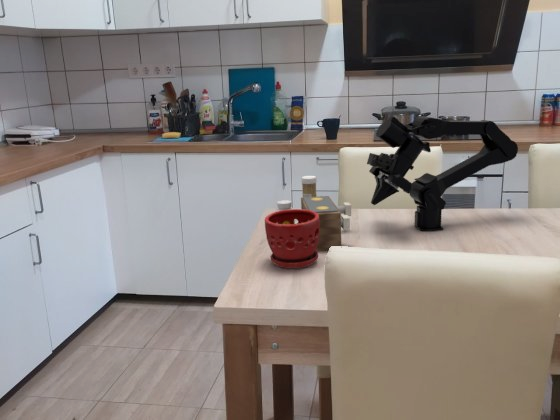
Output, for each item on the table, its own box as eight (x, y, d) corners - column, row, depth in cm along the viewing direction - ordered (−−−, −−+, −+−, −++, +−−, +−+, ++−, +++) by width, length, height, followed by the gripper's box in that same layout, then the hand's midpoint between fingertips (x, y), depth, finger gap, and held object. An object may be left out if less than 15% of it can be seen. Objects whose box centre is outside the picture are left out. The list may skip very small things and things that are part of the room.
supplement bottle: (298, 232, 155) (296, 200, 152) (290, 238, 150) (289, 204, 147) (281, 231, 157) (279, 199, 154) (273, 236, 152) (271, 203, 150)
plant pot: (270, 253, 138) (268, 208, 135) (321, 253, 137) (320, 208, 134) (263, 272, 126) (261, 223, 123) (319, 272, 124) (318, 222, 121)
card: (327, 197, 153) (327, 195, 152) (337, 211, 137) (337, 209, 137) (303, 198, 152) (303, 197, 152) (310, 213, 137) (310, 211, 137)
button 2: (347, 226, 142) (347, 214, 141) (349, 230, 138) (349, 218, 138) (311, 228, 141) (311, 217, 140) (313, 232, 138) (312, 220, 137)
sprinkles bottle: (320, 218, 168) (319, 176, 164) (308, 221, 165) (307, 178, 162) (311, 215, 171) (310, 174, 168) (300, 218, 169) (298, 176, 166)
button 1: (349, 213, 154) (348, 202, 153) (351, 216, 151) (351, 205, 150) (315, 215, 154) (315, 204, 153) (317, 218, 151) (317, 207, 150)
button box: (329, 229, 157) (328, 195, 154) (341, 250, 138) (340, 213, 136) (302, 231, 156) (300, 197, 154) (310, 252, 138) (309, 214, 135)
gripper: (371, 137, 154) (340, 183, 155) (395, 144, 136) (360, 195, 137) (400, 159, 157) (370, 203, 158) (427, 167, 139) (393, 217, 140)
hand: (372, 204), depth 149 cm, fingers closed
